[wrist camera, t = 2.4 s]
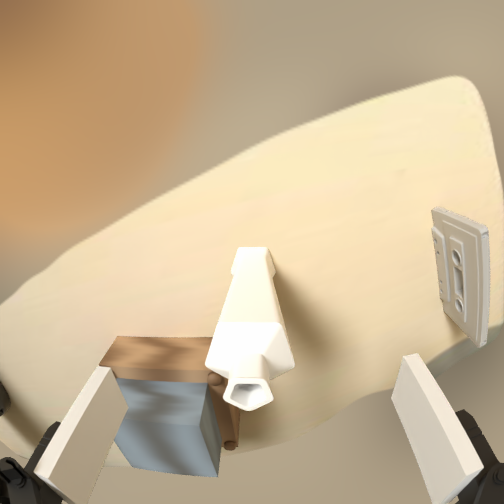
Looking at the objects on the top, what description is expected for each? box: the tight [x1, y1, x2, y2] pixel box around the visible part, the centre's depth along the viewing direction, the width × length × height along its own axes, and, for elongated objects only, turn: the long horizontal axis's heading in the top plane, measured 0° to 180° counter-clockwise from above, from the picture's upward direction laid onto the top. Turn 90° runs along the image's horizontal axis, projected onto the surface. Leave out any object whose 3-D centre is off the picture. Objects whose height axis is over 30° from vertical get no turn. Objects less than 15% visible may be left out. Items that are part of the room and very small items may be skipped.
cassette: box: [431, 207, 490, 348], centre depth 22 cm, size 12×2×8 cm, turn 22°
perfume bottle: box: [205, 247, 295, 411], centre depth 19 cm, size 5×4×15 cm
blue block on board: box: [99, 336, 240, 477], centre depth 26 cm, size 12×12×10 cm
